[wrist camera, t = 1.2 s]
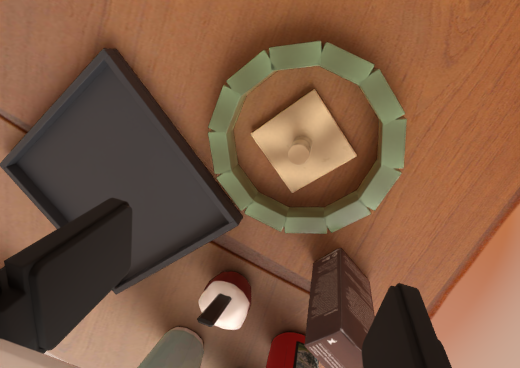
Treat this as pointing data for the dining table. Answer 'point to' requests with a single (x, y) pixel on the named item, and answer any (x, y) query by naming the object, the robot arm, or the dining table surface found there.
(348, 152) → the peg
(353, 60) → the green ring
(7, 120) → the dining table surface
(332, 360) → the box
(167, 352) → the disposable coffee cup
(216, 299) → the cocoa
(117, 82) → the tray
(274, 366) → the beverage can
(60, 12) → the dining table surface
